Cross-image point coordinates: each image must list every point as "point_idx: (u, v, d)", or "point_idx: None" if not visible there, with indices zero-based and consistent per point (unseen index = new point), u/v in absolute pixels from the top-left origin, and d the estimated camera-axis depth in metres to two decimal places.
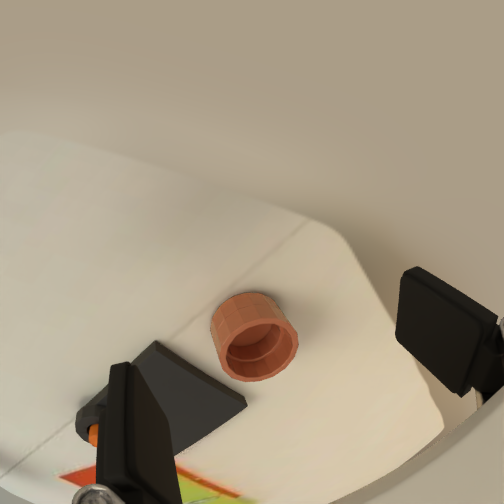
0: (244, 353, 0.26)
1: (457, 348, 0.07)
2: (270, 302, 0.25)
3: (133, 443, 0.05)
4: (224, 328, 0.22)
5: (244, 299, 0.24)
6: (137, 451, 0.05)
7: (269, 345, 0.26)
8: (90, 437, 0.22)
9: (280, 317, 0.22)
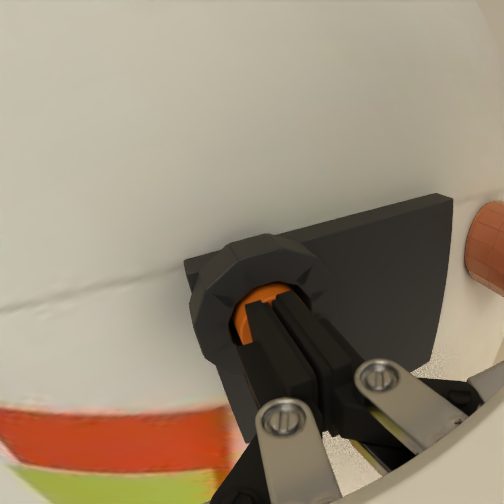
0: None
1: None
2: None
3: (302, 355, 0.07)
4: None
5: None
6: None
7: None
8: (269, 300, 0.10)
9: None
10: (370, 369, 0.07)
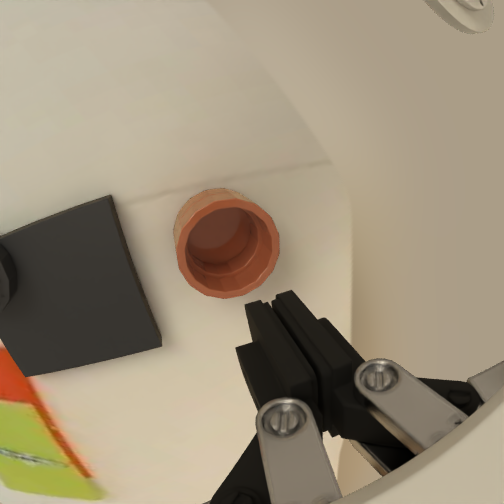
0: (199, 263, 0.21)
1: None
2: None
3: (302, 355, 0.07)
4: (205, 200, 0.18)
5: (236, 193, 0.20)
6: None
7: (231, 268, 0.22)
8: None
9: None
10: (370, 369, 0.07)
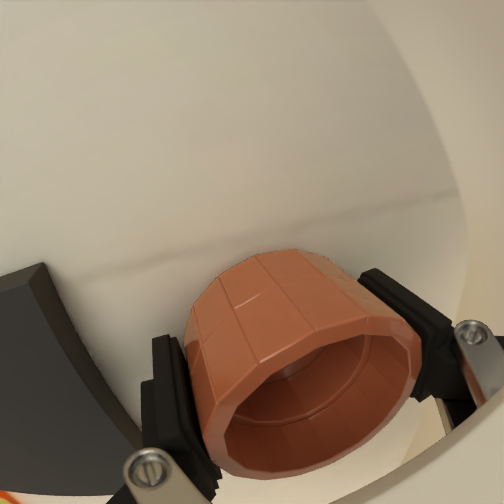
0: None
1: None
2: None
3: (185, 404, 0.06)
4: (275, 309, 0.07)
5: (328, 265, 0.09)
6: (187, 413, 0.06)
7: (299, 400, 0.10)
8: None
9: None
10: (469, 328, 0.07)
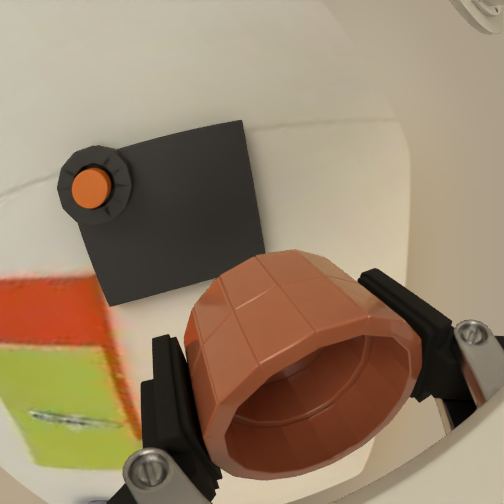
0: None
1: None
2: None
3: (184, 404, 0.06)
4: (276, 310, 0.07)
5: (328, 265, 0.09)
6: (187, 413, 0.06)
7: (300, 400, 0.10)
8: (83, 172, 0.17)
9: None
10: (469, 328, 0.07)
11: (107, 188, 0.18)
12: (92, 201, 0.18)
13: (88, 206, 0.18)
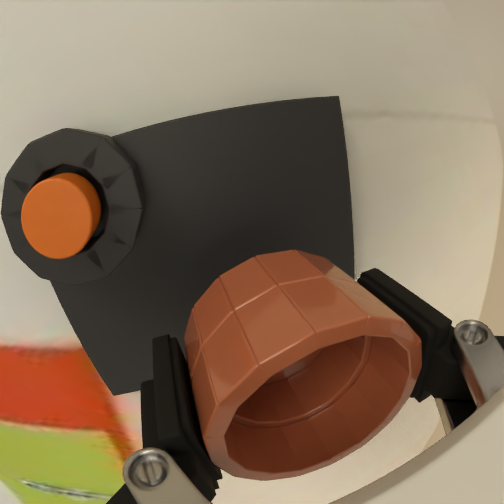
0: None
1: None
2: None
3: (185, 405, 0.06)
4: (276, 310, 0.07)
5: (328, 265, 0.09)
6: (187, 413, 0.06)
7: (299, 400, 0.10)
8: (41, 183, 0.07)
9: None
10: (469, 328, 0.07)
11: (91, 217, 0.08)
12: (62, 245, 0.08)
13: (55, 255, 0.08)
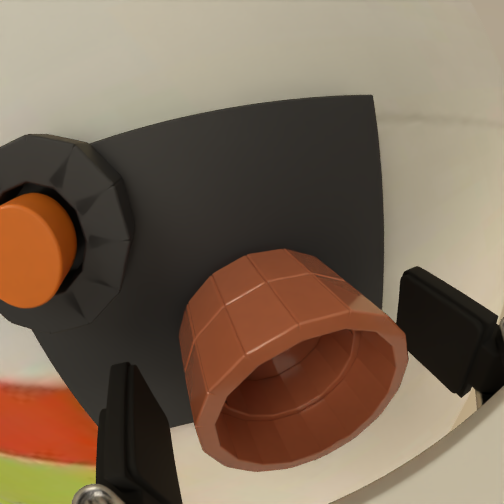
0: (233, 393, 0.10)
1: (457, 348, 0.07)
2: None
3: (133, 443, 0.05)
4: (263, 305, 0.07)
5: (316, 264, 0.09)
6: (137, 451, 0.05)
7: (291, 395, 0.11)
8: None
9: None
10: None
11: (61, 257, 0.06)
12: (27, 291, 0.06)
13: (20, 303, 0.06)
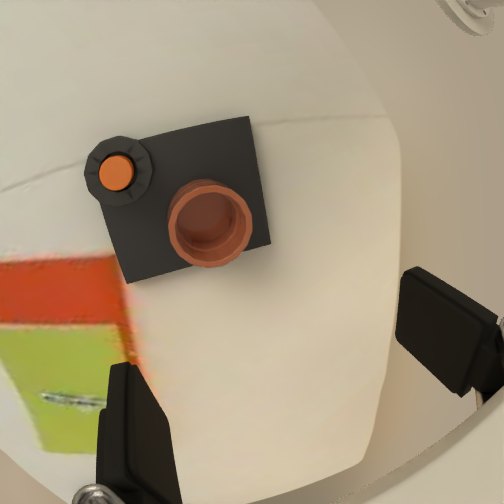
0: (188, 240, 0.25)
1: (457, 348, 0.07)
2: None
3: (133, 443, 0.05)
4: (192, 187, 0.22)
5: (219, 182, 0.24)
6: (137, 451, 0.05)
7: (214, 245, 0.26)
8: (110, 158, 0.20)
9: None
10: None
11: (131, 172, 0.21)
12: (117, 184, 0.21)
13: (114, 188, 0.21)
